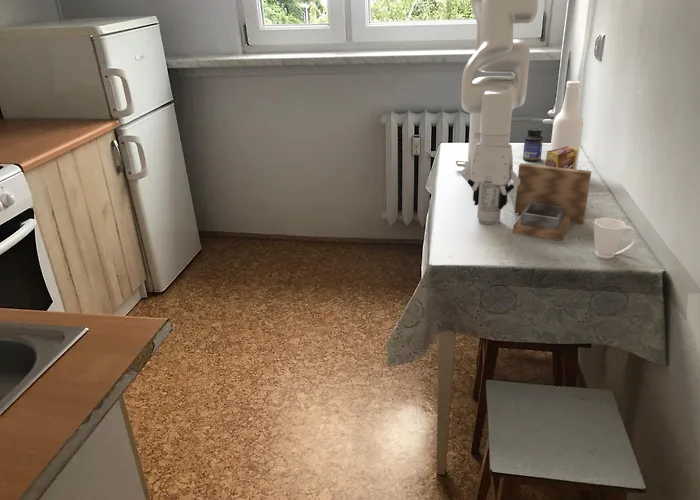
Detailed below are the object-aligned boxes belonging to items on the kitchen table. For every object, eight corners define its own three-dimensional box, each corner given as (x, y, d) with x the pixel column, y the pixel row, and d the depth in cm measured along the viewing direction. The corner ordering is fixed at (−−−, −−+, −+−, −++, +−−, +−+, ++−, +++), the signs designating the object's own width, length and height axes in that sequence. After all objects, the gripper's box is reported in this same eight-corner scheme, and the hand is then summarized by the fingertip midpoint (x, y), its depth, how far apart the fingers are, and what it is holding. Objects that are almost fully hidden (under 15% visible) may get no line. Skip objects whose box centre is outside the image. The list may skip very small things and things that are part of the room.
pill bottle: (542, 162, 204) (546, 130, 199) (525, 162, 204) (528, 131, 199) (537, 157, 209) (541, 126, 205) (520, 157, 209) (523, 127, 205)
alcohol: (546, 171, 195) (556, 79, 182) (573, 171, 193) (586, 79, 180) (548, 179, 187) (560, 84, 174) (577, 180, 185) (591, 84, 172)
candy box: (551, 206, 166) (557, 154, 159) (539, 201, 169) (545, 150, 163) (571, 199, 170) (578, 148, 164) (559, 195, 173) (565, 145, 167)
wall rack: (501, 230, 151) (505, 179, 145) (516, 211, 163) (521, 163, 157) (573, 242, 143) (581, 189, 137) (583, 221, 155) (591, 171, 149)
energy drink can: (500, 217, 159) (504, 164, 153) (499, 225, 154) (503, 171, 148) (477, 215, 161) (481, 163, 155) (476, 224, 156) (479, 170, 149)
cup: (584, 248, 140) (589, 217, 137) (627, 248, 140) (633, 216, 136) (594, 261, 134) (599, 229, 131) (638, 261, 133) (645, 228, 130)
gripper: (457, 139, 149) (453, 205, 157) (524, 146, 141) (517, 215, 149) (466, 133, 155) (463, 196, 163) (532, 139, 147) (525, 205, 155)
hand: (489, 204), depth 156 cm, fingers closed on energy drink can, 6 cm apart
